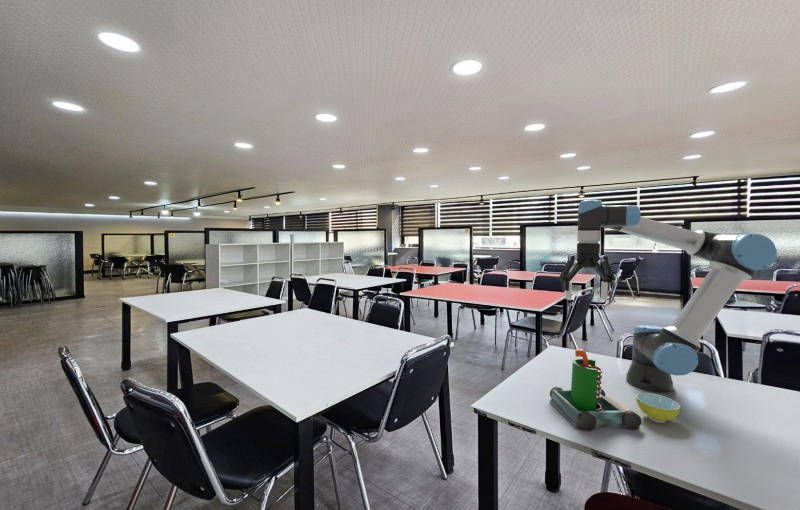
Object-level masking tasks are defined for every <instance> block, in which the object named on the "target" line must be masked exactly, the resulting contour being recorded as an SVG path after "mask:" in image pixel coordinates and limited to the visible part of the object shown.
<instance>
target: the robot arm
mask: <svg viewBox="0 0 800 510" xmlns="http://www.w3.org/2000/svg"><path fill="white" fill-rule="evenodd" d="M577 209H578V210H577V237H576V238H577V239H576V241H577V242H578V243H576V255H572V254H571V255H570V254H569V255H568V257H567V261H566V264H565V265H564V267H563V269H562V271H561V273H560V275H559V277H558V280H560V281H563V290H564V292H565V300H568V301H572V296H573V295H572V294H573V293H572V290H573V282H571V281H572V280H573V279H574V277H575V276H576V275H577V274H578V273H579V272H580V270H582V269H583V268H584V269H588V268H591V269H594V270H595V272H596V273H597V274H598V276H599V277H600V278H601V279H602V281H600V282H601V283H600V285H601V286H600V299H601V300H602V301H603V300H604V301H608V292H609V291H610V287H611V283H613V281H616V277H615V274H614V272H613V270H612V267H611V265H610V263H609V257H608V256H607V255H602V254H601V255H600V253H601V244H600V243H599V242H601V234H602V233H601V231H602V228H603V229H604V228H605V229H610V230H614V231H617V232H621V233H625V234H628V235H631V236H635V237H638V238H641V239H642V238H643V239H645V240H649V241H653V242H656V243H658V244H662V245H666V246H668V247H673V248H676V249H680V250H681V251H682V250H683V251H685V252H686V253H687V255H691V256H693V257H696V258H700V259H702V260H705V261H707V262H709V266H710V270H709V272H708V273H707V274H706V275H705V277H704V279H703V280H702V281H701V283H700V285H699V286H698V287H697V288H696V290H695V291H694V293H693V294H692V295H691V297H690V298H689V300H688V301H687V302H686V304H685V305H684V307H683V308H682V309H681V311H680V313H679V314H678V315H677V317H676V318H675V319H674V321H673V322H672V324H671V325H669V326H663V327H662V326H655V325H642V324H641V325H636V326H634V328H633V332H632V358H631V359H632V360H631V364H629V365H630V366H629V368H628V371H627V372H626V374H625V375H626V376H625V380H626V381H627V382H628V383H629V384H631V385H632V386H635V387H637V388H640V389H643V390H646V391H652V392H659V393H667V392H668V393H669V392H672V391H673V389H674V381H673V379H672V376H676V377H677V376H679V377H680V376H686V375H688V374H690V373H692V372H693V371H695V370H696V368H697V366H698V365H699V358H698V354H697V353H698V352H699V351H700V349H701V347H702V346H701V344H700V339H701V338H702V336H703V335H704V334H705V333H706V331H707V330H708V329H709V327H710V326H711V325H712V323H713V322H714V320H715V319H716V317H717V316H718V315H719V313H720V312H721V310H722V309H723V308H724V306H725V305H726V303H727V302H728V301H729V299H731V297H732V295H733V294H734V293H735V292H736V290H737V289H738V287H739V286H740V284H741V283H742V282H744V281H747V280H751V279H752V278H753V277H754V276H755V274H756V273H757V272H758V271H759V270H764V269H767V268H769V267H770V266H772V265H773V264H774V262H775V261H776V259H777V256H778V249H777V248H776V245H775V243H774V241H773V240H772V239H770V238H769V237H768V236H766V235H764V234H761V233H753V232H743V233H737V232H736V233H729V232H728V233H722V232H720V233H719V232H718V233H717V232H709V231H705V230H700V229H699V230H695V231H694V230H691V229H687V228H683V227H679V226H676V225H673V224H669V223H665V222H661V221H658V220H653V219H651V218H648V217H644V216H641V215H642V214H641V209H640V207H639V206H637V205H632V204H631V205H629V204H626V205H604V204H603V201H602V200H601V199H587V200H586V199H584V200H581V201H580V202H579V203H578V208H577ZM575 262H576V263H575ZM599 262H600V263H599ZM574 263H575V264H574ZM600 264H601V265H600ZM573 265H574V267H573ZM601 266H602V267H603V268H602V267H601Z"/></svg>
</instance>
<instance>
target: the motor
mask: <svg viewBox="0 0 800 510" xmlns="http://www.w3.org/2000/svg"><path fill="white" fill-rule="evenodd" d="M574 352H575V357H576V358H574V359H572V367H571V382H570V387H571V388H570V389H571V400H570V404H571V405H573V406H574V407H575V408H576V409H577V410H578V411H601V405H600V404H599V403H597V402H596V401H598V400H600V399H601V396H600V394H601V390H600V389H602V378H603V368H601V367H599V366H596V359H592V358H588V354H587V352H586V350H584V349H583V348H575V351H574ZM579 357H580V358H579Z"/></svg>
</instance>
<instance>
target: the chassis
mask: <svg viewBox="0 0 800 510" xmlns="http://www.w3.org/2000/svg"><path fill="white" fill-rule="evenodd" d="M600 390H601V394H600V396H601V399H600V400H598V401H596V402H597V403H599V404H600V405H601V411H578V410H577V409H576V408H575V407H574V406H573V405H571V404H570V400H571V388H570V389H569V388H568V389H565V388H562V387H559V386H554V387H552V388H551V389H550V391H549V397H550V400H549V403H550V404H551V405H552V406H553V407H554V409H556V410H557V411H558V412H559V413H560V414H561V415H562V416H563V417H564V418H565V419H566V420H567V421H568V423H569V424H571V425H572V426H573V427H574V428H575V429H582V430H584V431H587V432H588V431H589V432H590V431H592V430H593V429H595V428H596V429H599V428H627V429H629V430H632V431H634V430H637V429H639V428H640V426H641V425H642V418H641V416H640V415H639V414H638V413H636V412H635V411H633V410H631V409H629V408H628V407H627V406H625V405H624V404H622V403H621V402H620V401H618V400H617V399H615V398H614V397H613V396H606V392H605V390H604V389H602V388H601V389H600Z"/></svg>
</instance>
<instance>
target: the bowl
mask: <svg viewBox="0 0 800 510" xmlns="http://www.w3.org/2000/svg"><path fill="white" fill-rule="evenodd" d="M635 397H636V404H637V406H638V408H639V409H640V411H642V413H644V414H645V415H646V416H647V418H648V420H650V421H653V422H655V423H657V424H665V423H666V421H671V420H673V419H675V418H676V417H677V416H678V415H679V414H680V411H681V404H680V403H679V402H677V401H676V400H674V399H672V398H670V397H667V396H664V395H661V394H658V393H654V392H653V393H652V392H640V393H637V394H636V396H635Z"/></svg>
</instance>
